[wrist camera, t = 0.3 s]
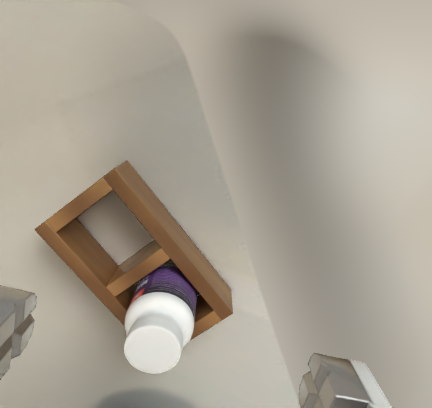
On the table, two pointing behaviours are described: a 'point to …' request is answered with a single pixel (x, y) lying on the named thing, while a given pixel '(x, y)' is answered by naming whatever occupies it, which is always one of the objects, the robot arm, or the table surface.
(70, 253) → the rack
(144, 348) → the pill bottle
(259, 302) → the table surface
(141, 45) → the table surface
